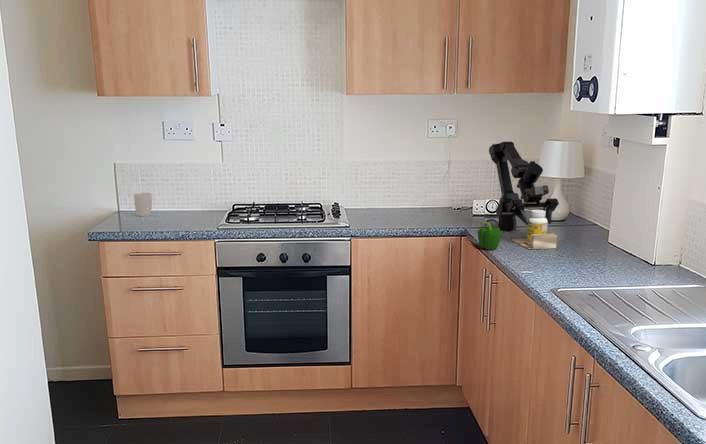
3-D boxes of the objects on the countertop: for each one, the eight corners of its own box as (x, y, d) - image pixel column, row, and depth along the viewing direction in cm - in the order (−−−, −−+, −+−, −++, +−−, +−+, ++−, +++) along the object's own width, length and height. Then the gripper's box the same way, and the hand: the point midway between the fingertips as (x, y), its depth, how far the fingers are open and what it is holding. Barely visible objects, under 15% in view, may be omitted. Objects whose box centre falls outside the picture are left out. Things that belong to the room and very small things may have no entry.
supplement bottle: (550, 244, 233) (552, 211, 230) (538, 247, 228) (540, 213, 226) (534, 240, 238) (536, 208, 236) (522, 243, 234) (524, 210, 232)
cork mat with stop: (511, 240, 242) (512, 226, 241) (540, 239, 243) (541, 226, 242) (529, 250, 226) (530, 235, 225) (559, 249, 228) (560, 235, 227)
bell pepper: (505, 249, 228) (506, 222, 226) (491, 252, 222) (493, 225, 220) (486, 244, 234) (487, 219, 232) (473, 248, 228) (474, 222, 226)
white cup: (131, 216, 285) (130, 194, 283) (141, 213, 292) (140, 192, 290) (146, 217, 282) (144, 195, 280) (156, 214, 290) (154, 193, 288)
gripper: (512, 178, 231) (522, 212, 223) (558, 177, 234) (570, 211, 226) (503, 195, 241) (512, 228, 232) (547, 194, 243) (558, 227, 235)
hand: (538, 223), depth 231 cm, fingers open, 9 cm apart
